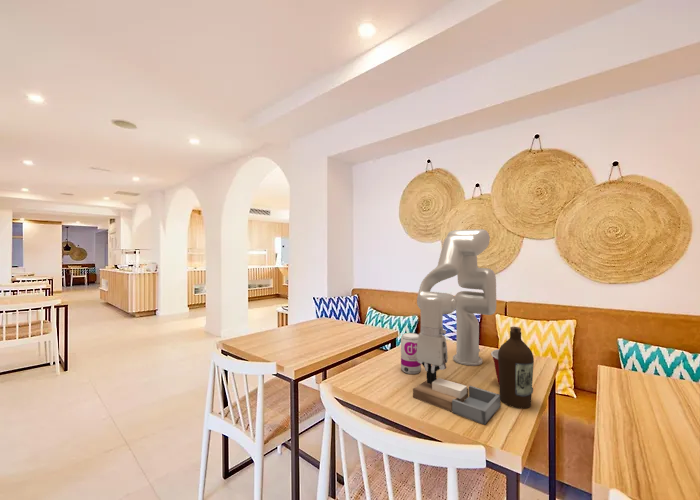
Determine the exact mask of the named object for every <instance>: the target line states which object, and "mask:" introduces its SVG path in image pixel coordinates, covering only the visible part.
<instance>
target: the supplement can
mask: <svg viewBox="0 0 700 500" xmlns="http://www.w3.org/2000/svg"><path fill="white" fill-rule="evenodd" d="M418 337H419V333H414V332H405V333H402V335H401V337H400V369H401V370H402V372H404V373H405V374H408V375H416V374H419V373H420V372H421V370H422V364H420V363H418V361H417V360H418V359H417V342H418Z"/></svg>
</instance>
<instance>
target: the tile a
mask: <svg viewBox="0 0 700 500" xmlns="http://www.w3.org/2000/svg"><path fill="white" fill-rule="evenodd" d="M452 382H453V381H450V380H447V379H445V378H441V377H438V378H436V380H435V381H433V382H432V390H435V391H438V392H441V393H444V394H446V386H447V385H449V384H450V383H452Z"/></svg>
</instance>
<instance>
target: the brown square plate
mask: <svg viewBox="0 0 700 500" xmlns="http://www.w3.org/2000/svg"><path fill="white" fill-rule="evenodd" d="M412 397H413V399H417V400H419V401H422V402H424V403H427V404H430V405H433V406H435V407H438V408H440V409H444V410H446V411H449V412H450V413H451V412H452V400H453V399H455V400H458V401H461V402H463V401H465V400H466V399H467V398H468V397H469V387H467V394H466V395H465V396H463V397H462V398H461V399H459V398H456V397H453V396H450V395H447V394H444V393H441V392H438V391H435V390H432V384H430V383H427V379H426V380H424V381H423V382H422V383H420V384H418V385H417V386H415V387H413V388H412Z"/></svg>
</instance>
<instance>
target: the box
mask: <svg viewBox="0 0 700 500" xmlns="http://www.w3.org/2000/svg"><path fill="white" fill-rule="evenodd" d="M501 402H502V401H501V395H500V393H495V392H493V391H490V390H486V389H482V388H480V387H476V386H472V385H469V386H468V398H466V399H465V400H464V401H463V402H461V401H458V400H455V399H453V400H452V414H454V415H457V416H459V417H461V418H465V419H467V420H470V421H472V422H475V423H478V424H481V425H484V426H485V425H487V423H488V422H489V421H490V420H491V419H492V417H493V416H494V415H495V414H496V413H497V412H498V410H500V408H501V407H502V406H501Z"/></svg>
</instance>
